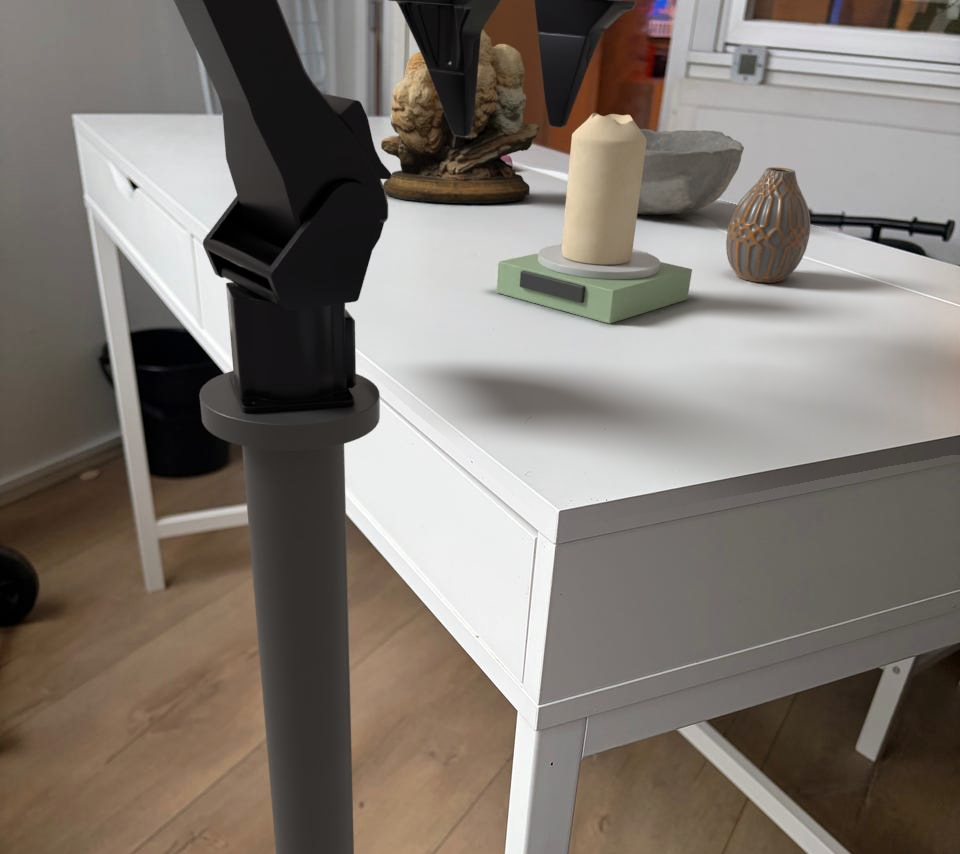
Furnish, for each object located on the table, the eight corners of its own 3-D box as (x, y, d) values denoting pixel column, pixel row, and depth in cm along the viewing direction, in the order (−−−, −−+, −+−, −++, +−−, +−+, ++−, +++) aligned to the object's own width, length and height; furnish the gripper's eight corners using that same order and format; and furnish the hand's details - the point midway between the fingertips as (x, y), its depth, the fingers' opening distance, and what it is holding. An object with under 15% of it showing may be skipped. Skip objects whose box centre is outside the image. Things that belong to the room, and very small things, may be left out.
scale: (607, 324, 74) (612, 282, 72) (493, 293, 79) (496, 253, 78) (687, 299, 81) (693, 261, 79) (578, 272, 87) (582, 236, 85)
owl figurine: (519, 186, 122) (531, 23, 113) (549, 205, 113) (564, 28, 104) (374, 185, 118) (373, 15, 109) (392, 204, 109) (393, 19, 99)
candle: (603, 269, 75) (620, 120, 70) (546, 255, 78) (558, 111, 73) (645, 259, 79) (664, 117, 73) (589, 246, 82) (603, 108, 76)
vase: (815, 283, 88) (840, 174, 83) (761, 290, 85) (784, 178, 80) (756, 265, 93) (777, 161, 88) (703, 272, 89) (721, 164, 84)
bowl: (545, 212, 109) (552, 131, 105) (605, 192, 122) (613, 119, 118) (704, 236, 103) (718, 150, 98) (749, 212, 116) (763, 135, 112)
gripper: (542, -246, 42) (517, 162, 51) (754, -183, 54) (705, 137, 63) (359, -228, 48) (365, 135, 56) (587, -174, 60) (563, 117, 69)
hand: (511, 131), depth 61 cm, fingers open, 9 cm apart
